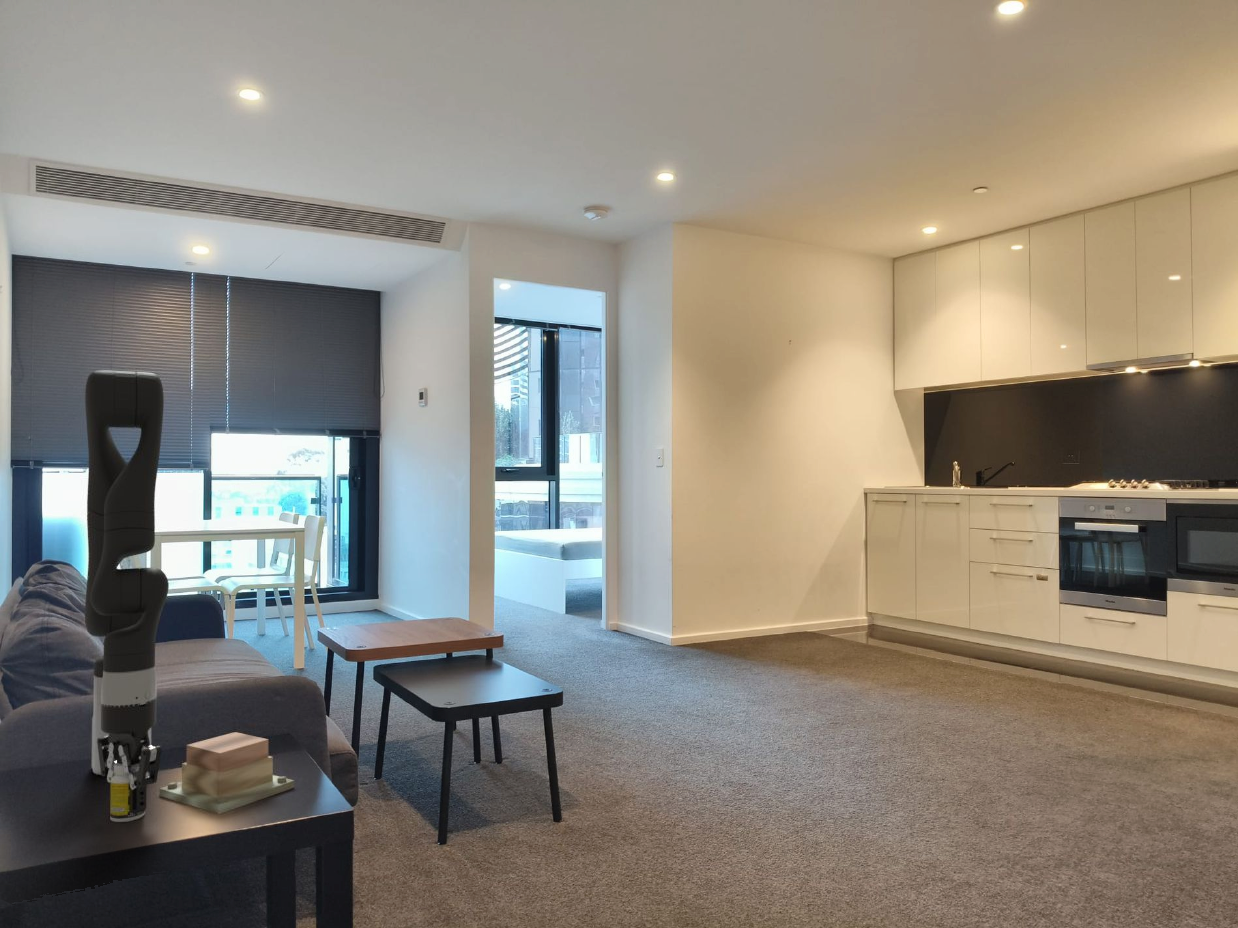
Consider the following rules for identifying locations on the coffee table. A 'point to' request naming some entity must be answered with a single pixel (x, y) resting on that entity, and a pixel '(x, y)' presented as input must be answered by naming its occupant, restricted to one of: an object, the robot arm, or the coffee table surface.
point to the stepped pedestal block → (226, 774)
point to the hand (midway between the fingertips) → (128, 807)
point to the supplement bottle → (121, 796)
